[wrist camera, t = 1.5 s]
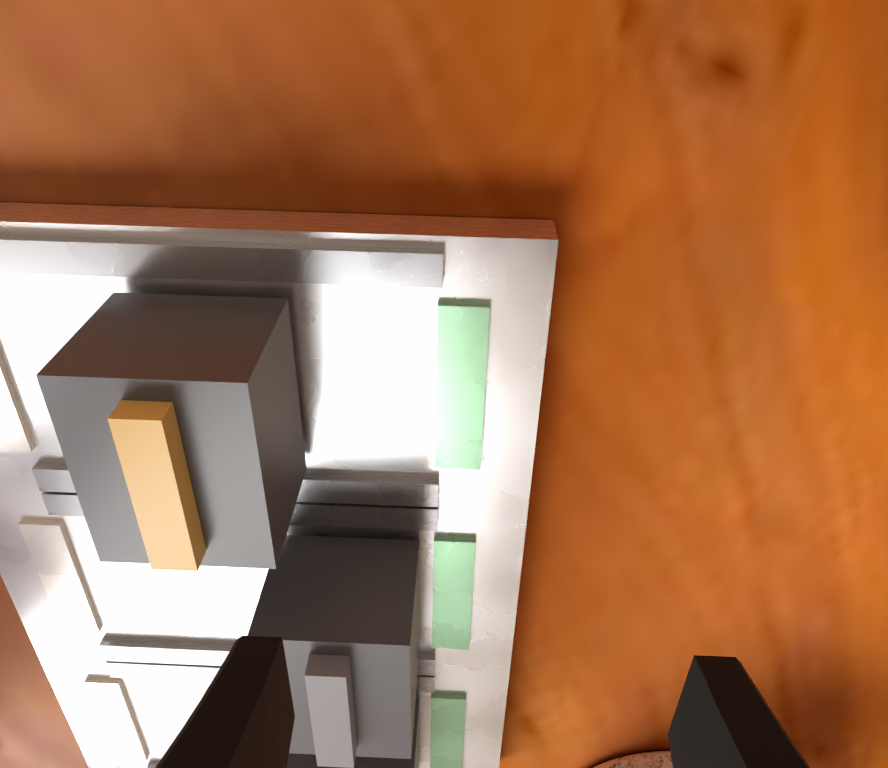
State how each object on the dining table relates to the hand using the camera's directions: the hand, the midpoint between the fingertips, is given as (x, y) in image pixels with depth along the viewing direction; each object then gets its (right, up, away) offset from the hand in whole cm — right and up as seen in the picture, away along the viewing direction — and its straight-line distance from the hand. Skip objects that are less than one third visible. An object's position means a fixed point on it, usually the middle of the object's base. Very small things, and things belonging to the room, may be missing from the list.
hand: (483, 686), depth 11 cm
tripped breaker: (-6, +5, +7) cm, 10 cm away
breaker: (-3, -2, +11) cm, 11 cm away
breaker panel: (-6, -1, +12) cm, 14 cm away
